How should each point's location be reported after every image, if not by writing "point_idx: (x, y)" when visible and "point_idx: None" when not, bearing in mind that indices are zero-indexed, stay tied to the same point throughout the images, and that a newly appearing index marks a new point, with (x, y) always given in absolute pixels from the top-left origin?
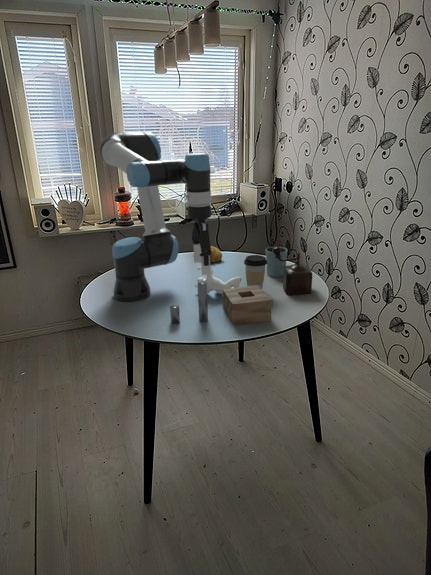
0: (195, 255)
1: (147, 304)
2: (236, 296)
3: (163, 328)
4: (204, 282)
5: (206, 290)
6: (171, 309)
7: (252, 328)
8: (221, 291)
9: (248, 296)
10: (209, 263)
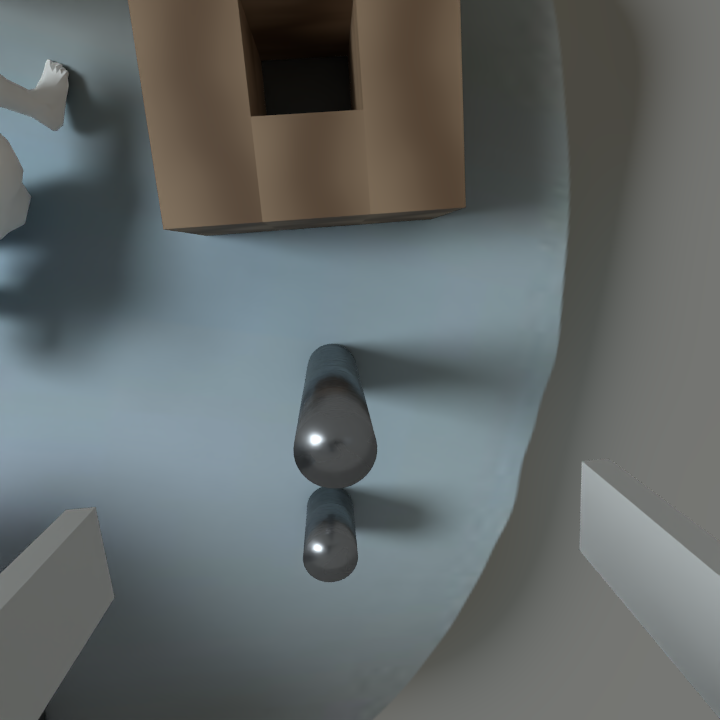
0: (56, 662)
1: (90, 639)
2: (330, 146)
3: (384, 559)
4: (314, 427)
5: (355, 399)
6: (350, 570)
7: (490, 116)
8: (23, 212)
9: (247, 32)
10: (710, 544)
